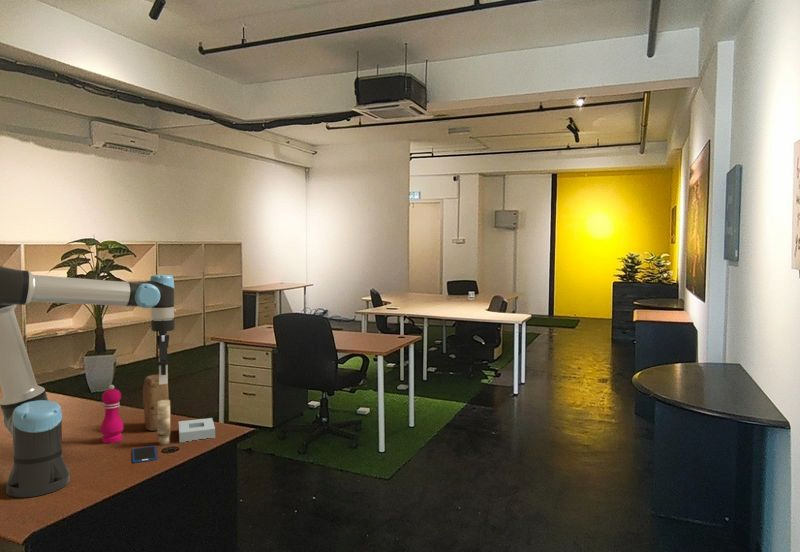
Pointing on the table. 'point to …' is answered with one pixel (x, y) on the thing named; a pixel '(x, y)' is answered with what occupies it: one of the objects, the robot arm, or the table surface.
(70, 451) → the table surface
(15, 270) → the robot arm
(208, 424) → the board
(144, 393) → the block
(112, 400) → the pepper mill
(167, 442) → the peg
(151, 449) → the cell phone
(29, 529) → the table surface
